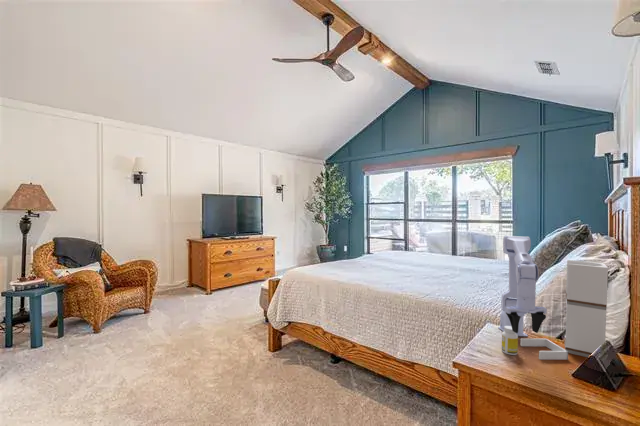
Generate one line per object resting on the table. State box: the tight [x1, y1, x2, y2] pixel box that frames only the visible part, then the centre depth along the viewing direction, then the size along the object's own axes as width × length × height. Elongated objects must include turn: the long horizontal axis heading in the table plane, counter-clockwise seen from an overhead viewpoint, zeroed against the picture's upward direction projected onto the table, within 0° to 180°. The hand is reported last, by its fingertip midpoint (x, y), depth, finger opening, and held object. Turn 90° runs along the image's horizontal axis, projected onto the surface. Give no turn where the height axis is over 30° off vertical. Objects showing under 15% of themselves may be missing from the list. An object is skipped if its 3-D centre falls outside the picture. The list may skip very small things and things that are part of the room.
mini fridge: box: [563, 259, 609, 358], centre depth 122 cm, size 11×11×35 cm
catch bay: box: [519, 337, 569, 361], centre depth 121 cm, size 11×11×3 cm
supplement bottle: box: [501, 326, 519, 356], centre depth 121 cm, size 5×5×10 cm
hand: (525, 331), depth 116 cm, fingers open, 7 cm apart
